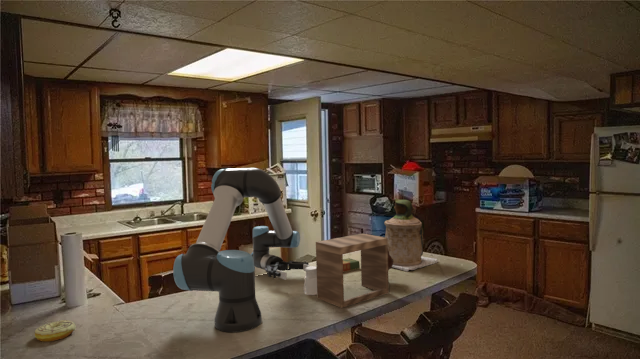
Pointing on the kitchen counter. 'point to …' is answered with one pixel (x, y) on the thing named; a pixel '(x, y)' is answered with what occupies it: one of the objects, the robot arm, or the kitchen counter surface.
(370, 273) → the counter shelf
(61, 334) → the decorated donut
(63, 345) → the kitchen counter surface
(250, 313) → the robot arm
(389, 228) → the cookie jar
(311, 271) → the downlight
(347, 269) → the carton
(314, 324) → the kitchen counter surface
